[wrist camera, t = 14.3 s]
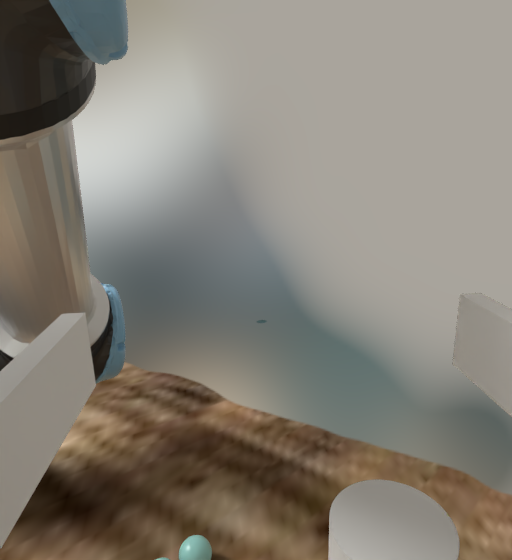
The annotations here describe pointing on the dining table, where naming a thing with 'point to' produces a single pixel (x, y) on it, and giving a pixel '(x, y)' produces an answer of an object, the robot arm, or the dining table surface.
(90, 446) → the dining table surface
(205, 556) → the marble
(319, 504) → the dining table surface
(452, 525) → the cup
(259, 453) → the dining table surface
